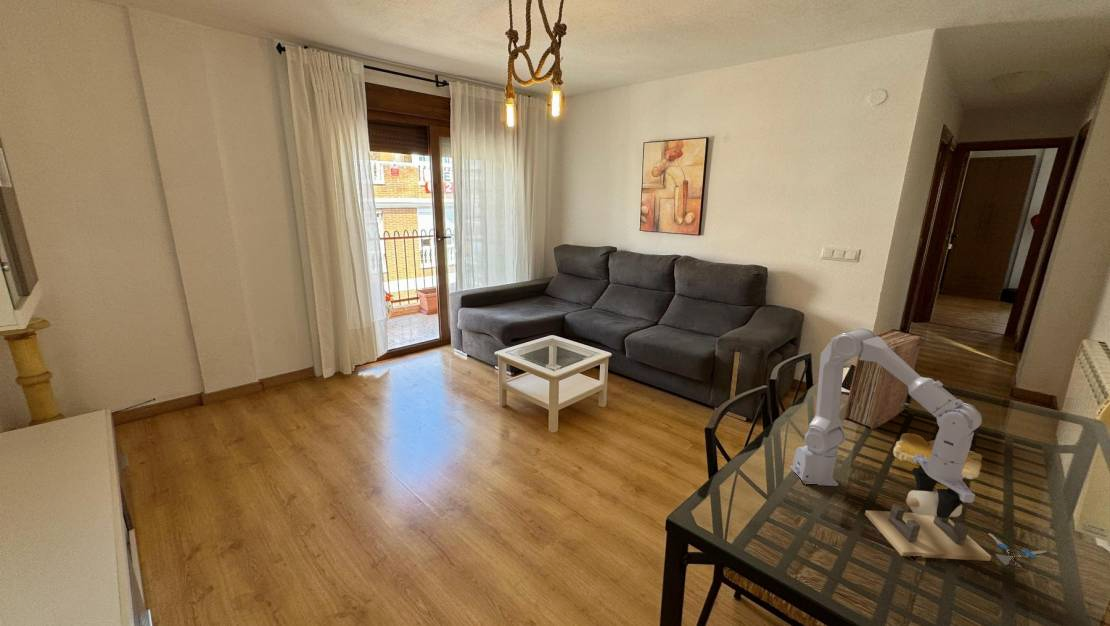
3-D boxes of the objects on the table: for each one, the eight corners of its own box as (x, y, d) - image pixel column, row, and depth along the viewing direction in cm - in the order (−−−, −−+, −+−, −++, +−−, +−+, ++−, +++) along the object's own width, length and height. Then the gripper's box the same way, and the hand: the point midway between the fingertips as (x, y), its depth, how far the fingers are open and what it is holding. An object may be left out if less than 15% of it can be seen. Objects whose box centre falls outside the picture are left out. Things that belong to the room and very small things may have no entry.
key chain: (1015, 573, 95) (1017, 570, 95) (969, 545, 102) (970, 542, 102) (1047, 553, 100) (1048, 550, 100) (1000, 529, 107) (1001, 526, 107)
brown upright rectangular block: (871, 430, 150) (892, 347, 142) (842, 418, 157) (861, 339, 149) (903, 412, 164) (923, 335, 155) (875, 401, 171) (893, 328, 163)
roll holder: (901, 555, 98) (907, 535, 96) (864, 514, 110) (869, 495, 109) (989, 560, 97) (997, 540, 96) (942, 518, 110) (948, 499, 108)
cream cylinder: (914, 519, 100) (920, 500, 98) (898, 503, 105) (904, 485, 103) (964, 522, 99) (971, 503, 98) (946, 506, 104) (952, 487, 103)
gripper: (996, 477, 91) (977, 532, 94) (940, 439, 105) (926, 488, 108) (961, 476, 91) (943, 530, 95) (910, 437, 105) (896, 486, 109)
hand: (932, 507), depth 102 cm, fingers closed on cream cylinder, 5 cm apart
